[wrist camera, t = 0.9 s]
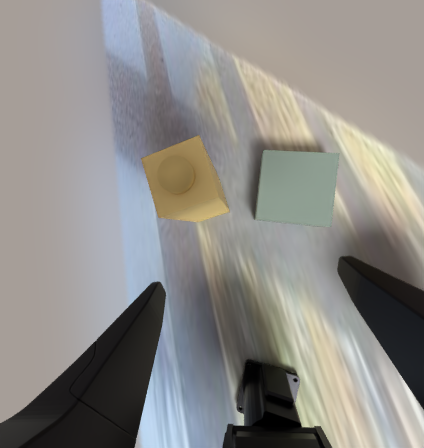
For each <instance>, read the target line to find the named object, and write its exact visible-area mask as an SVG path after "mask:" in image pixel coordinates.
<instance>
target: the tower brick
mask: <svg viewBox="0 0 424 448" xmlns="http://www.w3.org/2000/svg"><path fill="white" fill-rule="evenodd" d="M141 160H142V163H143V167H144V170H145V173H146V177H147V180H148V184H149V187H150V190H151V194H152V197H153V201H154V204H155V207H156V211H157V214H158V218H166V219H175V220H184V221H192V222H200V221H203V220H206V219H209V218H212V217H215V216H218V215H221V214H224V213H227V212H230V211H229V208H228V205H227V201H226V198H225V195H224V192H223V189H222V186H221V183H220V180H219V177H218V175H217V173H216V171H215V169H214V166H213V164H212V162H211V160H210V158H209V156H208V153H207V151H206V149H205V147H204V145H203V142H202V140H201V138H200V136H199V135H198V136H196V137H193V138H191V139H188V140H186V141H183V142H181V143H178V144H176V145H173V146H171V147H168V148H166V149H163V150H161V151H158V152H156V153H153V154H151V155H148V156H146V157H143V158H141Z"/></svg>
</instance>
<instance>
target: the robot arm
mask: <svg viewBox="0 0 424 448" xmlns="http://www.w3.org/2000/svg"><path fill="white" fill-rule="evenodd" d="M337 271H338V274H339V276H340V278H341V280H342V282H343V284H344V286H345V288H346V290H347V292H348V294H349V295H350V297H351V299H352V301H353V303H354V305H355V306H356V308H357V310H358V311H359V313H360V314H361V316H362V317H363V319H364V320H365V322H366V323H367V325H368V326H369V328H370V329H371V331H372V332H373V334H374V335H375V337H376V338H377V340H378V341H379V343H380V344H381V346H382V347H383V349H384V350H385V352H386V353H387V355H388V357H389V358H390V360H391V361H392V363H393V364H394V366H395V367H396V369H397V370H398V372H399V373H400V375H401V376H402V378H403V379H404V381H405V382H406V384H407V385H408V387H409V388H410V390H411V391H412V393H413V394H414V396H415V397H416V399H417V400H418V402H419V403H420V405H421V407H422V408H423V410H424V291H422V290H420V289H418V288H416V287H414V286H412V285H410V284H408V283H406V282H404V281H402V280H400V279H398V278H396V277H394V276H391V275H389V274H387V273H385V272H383V271H381V270H379V269H377V268H375V267H373V266H371V265H369V264H367V263H365V262H363V261H360V260H358V259H356V258H354V257H352V256H341V257H340V258H339V262H338V268H337ZM165 299H166V292H165V290H164V288H163V286H162V284H161V282H153V283H151V284H150V285H149V286H148V287H147V288H146V289H145V290H144V291H143V292H142V293H141V294H140V295H139V297H138V298H137V299H136V300H135V301H134V302H133V303H132V304H131V305H130V306H129V307H128V308H127V309H126V310H125V311H124V312H123V313H122V314H121V315H120V316H119V317H118V318H117V319H116V320H115V321H114V322H113V323H112V324H111V325H110V327H108V329H106V331H105V332H104V333H103V334H102V335H101V336H100V337H99V338H98V339H97V341H95V342H94V343H93V344H92V345H91V346H90V347H89V348H88V349H87V350H86V351H85V352H84V353H83V354H82V355H81V356H80V357H79V358H78V359H77V360H76V361H75V362H74V363H73V364H72V365H71V366H70V367H69V368H68V369H67V370H66V371H64V372H63V373H62V374H61V375H60V376H59V377H58V378H57V379H56V380H55V381H54V382H52V384H50V385H49V386H48V387H47V388H46V389H45V390H44V391H43V392H42V393H41V394H39V395H38V396H37V397H36V398H35V399H34V400H33V401H32V402H31V403H30V404H29V405H27V406H26V407H25V408H24V409H23V410H21V411H20V412H19V413H17V414H15V415H14V416H12V417H11V418H9V419H8V420H6V421H4V422H2V423H0V448H134V447H135V443H136V438H137V434H138V429H139V425H140V420H141V416H142V412H143V407H144V403H145V398H146V394H147V390H148V385H149V381H150V376H151V372H152V368H153V363H154V359H155V354H156V350H157V346H158V341H159V337H160V332H161V328H162V323H163V315H164V307H165ZM248 364H251V365H248ZM294 378H297V379H295V380H294ZM299 383H300V379H299V377H298V375H297V374H295V373H292V372H289V371H286V370H284V369H281V368H278V367H274V366H271V365H268V364H265V363H264V364H263V363H260V362H256V361H253V360H250V359H248V360H246V362H245V366H244V371H243V376H242V381H241V386H240V390H239V395H238V400H237V411H238V412H240V413H243V414H244V426H234V425H233V424H228V426H227V431H226V433H225V437H224V442H223V447H222V448H332V446H331V445H330V443H329V441H328V439H327V437H326V435H325V433H324V432H323V430H322V428H321V426H314V427H315V428H308V427H302V426H301V422H300V419H299V415H298V412H297V409H296V405H295V402H296V397H297V392H298V388H299ZM240 406H241V407H240Z"/></svg>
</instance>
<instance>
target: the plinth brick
mask: <svg viewBox="0 0 424 448" xmlns="http://www.w3.org/2000/svg"><path fill="white" fill-rule="evenodd" d="M338 161H339V153H321V152H299V151H277V150H263V154H262V157H261V165H260V174H259V183H258V192H257V201H256V210H255V219H254V220H260V221H270V222H280V223H289V224H299V225H309V226H318V227H331V224H332V215H333V206H334V197H335V188H336V179H337V170H338Z"/></svg>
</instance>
